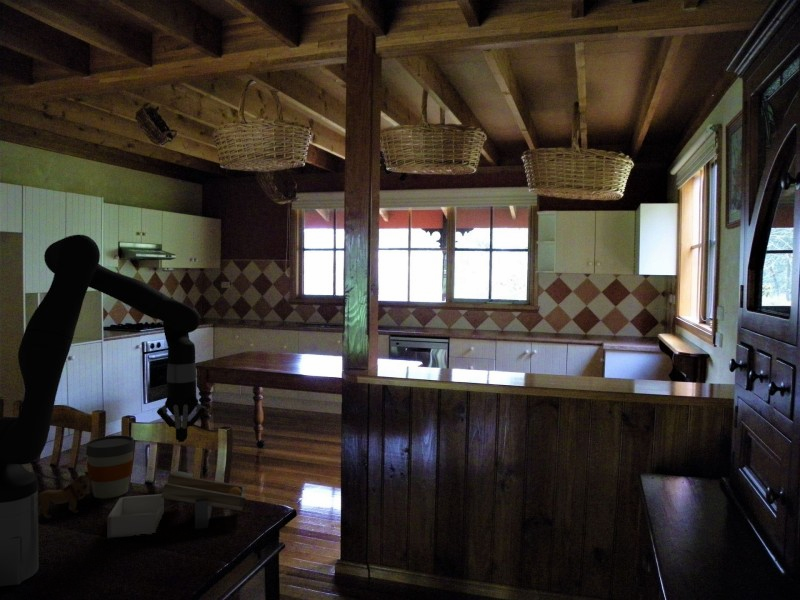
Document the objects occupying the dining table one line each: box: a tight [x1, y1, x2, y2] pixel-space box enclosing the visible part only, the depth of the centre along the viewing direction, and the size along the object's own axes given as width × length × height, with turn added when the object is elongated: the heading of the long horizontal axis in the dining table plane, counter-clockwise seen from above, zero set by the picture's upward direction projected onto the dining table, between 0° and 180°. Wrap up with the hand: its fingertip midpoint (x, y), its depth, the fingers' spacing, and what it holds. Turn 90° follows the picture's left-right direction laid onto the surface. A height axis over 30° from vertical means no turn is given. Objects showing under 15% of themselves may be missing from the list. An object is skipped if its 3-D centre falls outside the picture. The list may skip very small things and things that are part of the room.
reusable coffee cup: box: [85, 435, 136, 499], centre depth 159 cm, size 13×13×15 cm
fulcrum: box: [194, 499, 213, 530], centre depth 143 cm, size 11×3×7 cm, turn 14°
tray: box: [106, 493, 165, 539], centre depth 139 cm, size 13×11×5 cm
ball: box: [229, 487, 241, 496], centre depth 145 cm, size 3×3×3 cm
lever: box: [161, 470, 247, 512], centre depth 147 cm, size 18×20×4 cm
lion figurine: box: [38, 474, 92, 519], centre depth 145 cm, size 15×5×9 cm, turn 130°
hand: (181, 441), depth 152 cm, fingers closed
